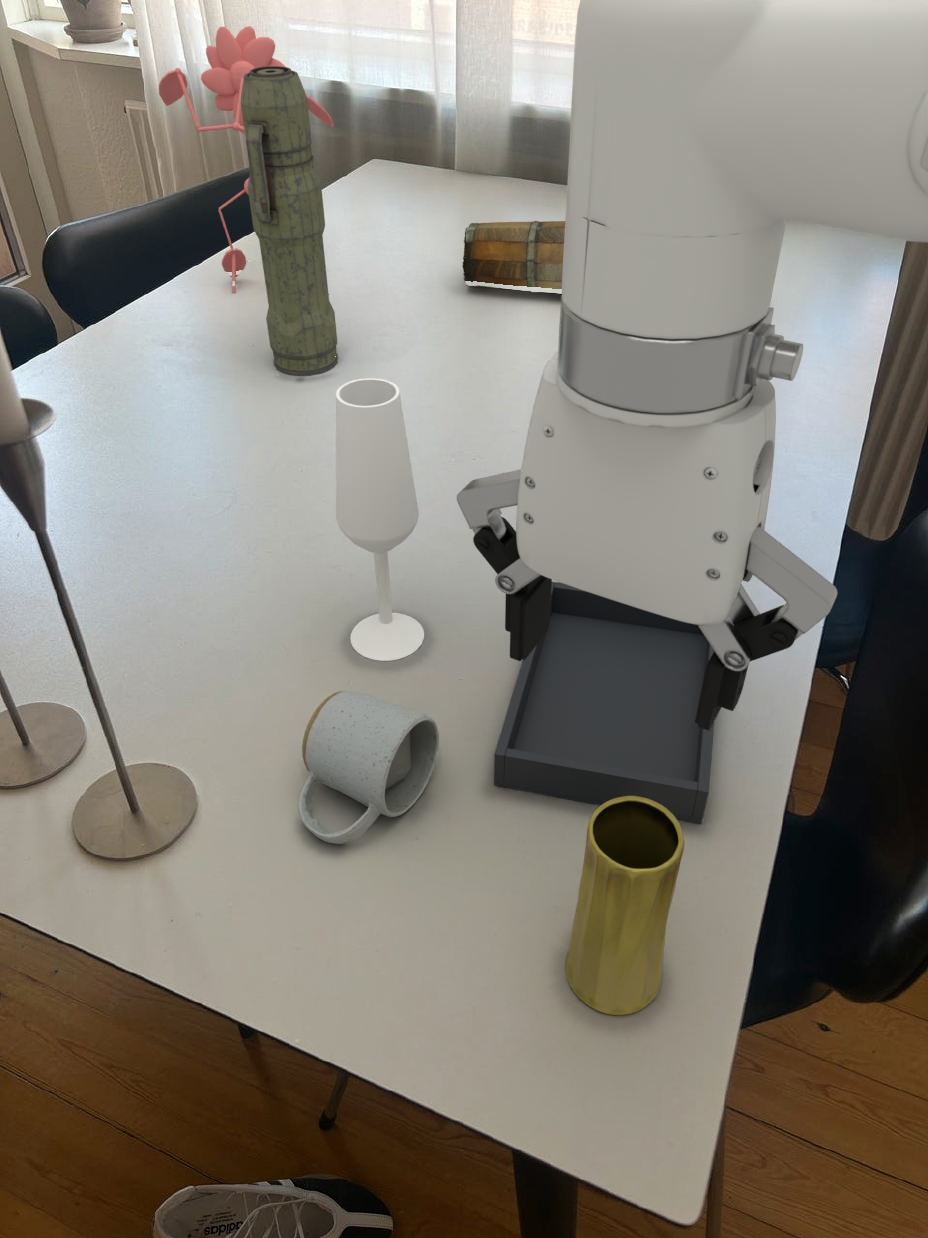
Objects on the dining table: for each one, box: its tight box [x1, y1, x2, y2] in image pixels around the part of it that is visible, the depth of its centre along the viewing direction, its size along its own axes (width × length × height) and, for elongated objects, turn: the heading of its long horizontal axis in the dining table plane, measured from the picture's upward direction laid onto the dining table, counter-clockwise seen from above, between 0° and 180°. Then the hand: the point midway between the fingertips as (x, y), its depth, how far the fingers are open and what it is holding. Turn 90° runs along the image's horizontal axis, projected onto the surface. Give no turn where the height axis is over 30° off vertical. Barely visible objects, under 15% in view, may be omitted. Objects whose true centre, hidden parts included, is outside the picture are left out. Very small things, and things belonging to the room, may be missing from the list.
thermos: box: [241, 66, 339, 377], centre depth 120 cm, size 9×12×35 cm
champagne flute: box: [335, 377, 425, 662], centre depth 79 cm, size 7×7×24 cm
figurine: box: [158, 25, 335, 293], centre depth 144 cm, size 15×26×35 cm, turn 80°
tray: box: [493, 581, 715, 825], centre depth 79 cm, size 16×22×4 cm
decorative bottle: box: [462, 220, 565, 289], centre depth 144 cm, size 11×11×45 cm
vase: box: [564, 796, 685, 1016], centre depth 57 cm, size 6×6×14 cm
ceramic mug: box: [298, 690, 440, 845], centre depth 71 cm, size 11×8×8 cm
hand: (617, 676), depth 47 cm, fingers open, 9 cm apart
